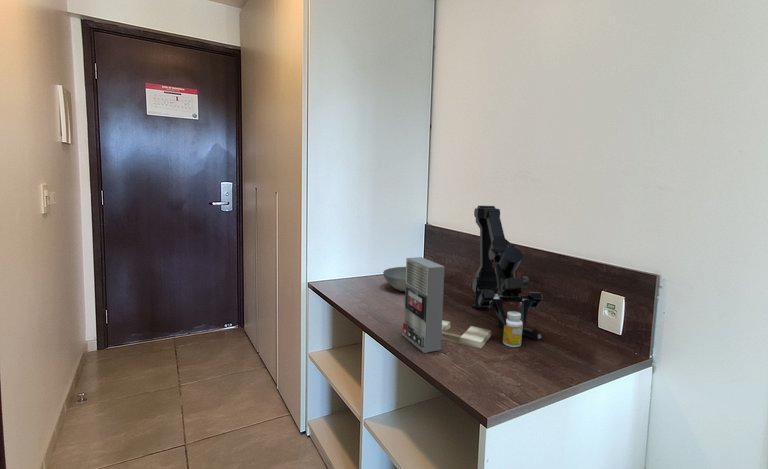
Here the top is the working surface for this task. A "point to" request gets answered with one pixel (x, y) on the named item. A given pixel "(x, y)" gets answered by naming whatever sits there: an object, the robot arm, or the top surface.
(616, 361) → the top surface
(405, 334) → the cassette tape recorder
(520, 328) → the supplement bottle
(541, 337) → the electric trimmer
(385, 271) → the bowl
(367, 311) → the top surface
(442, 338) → the notched board
